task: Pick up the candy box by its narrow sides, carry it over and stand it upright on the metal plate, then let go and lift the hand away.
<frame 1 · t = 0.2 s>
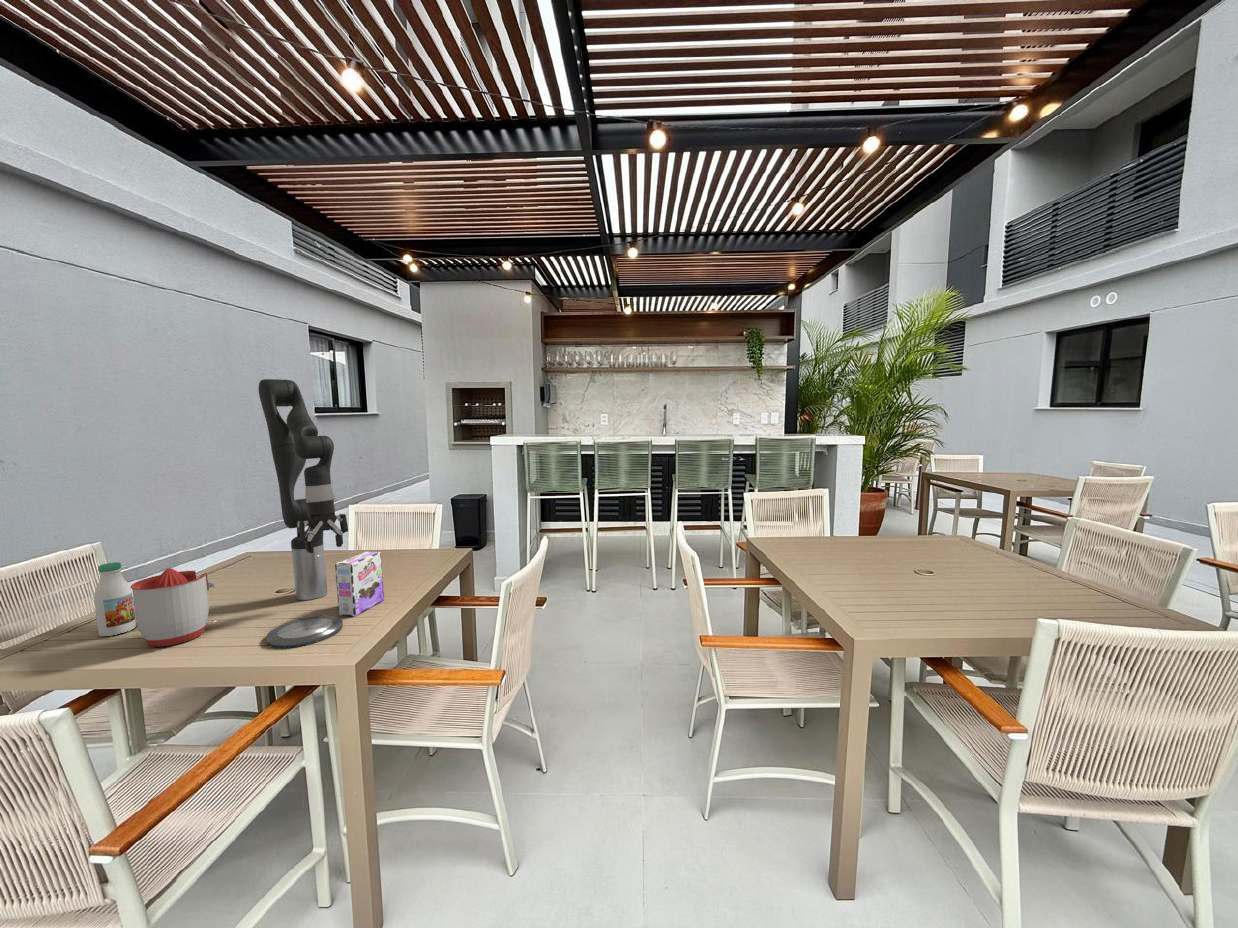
hand: (325, 549, 160), 18 cm above the table, tool pointing down, fingers open, 8 cm apart
candy box: (362, 608, 158), on the table
metal plate: (305, 633, 140), on the table
milk bottle: (118, 632, 144), on the table
citrus juicer: (180, 637, 140), on the table
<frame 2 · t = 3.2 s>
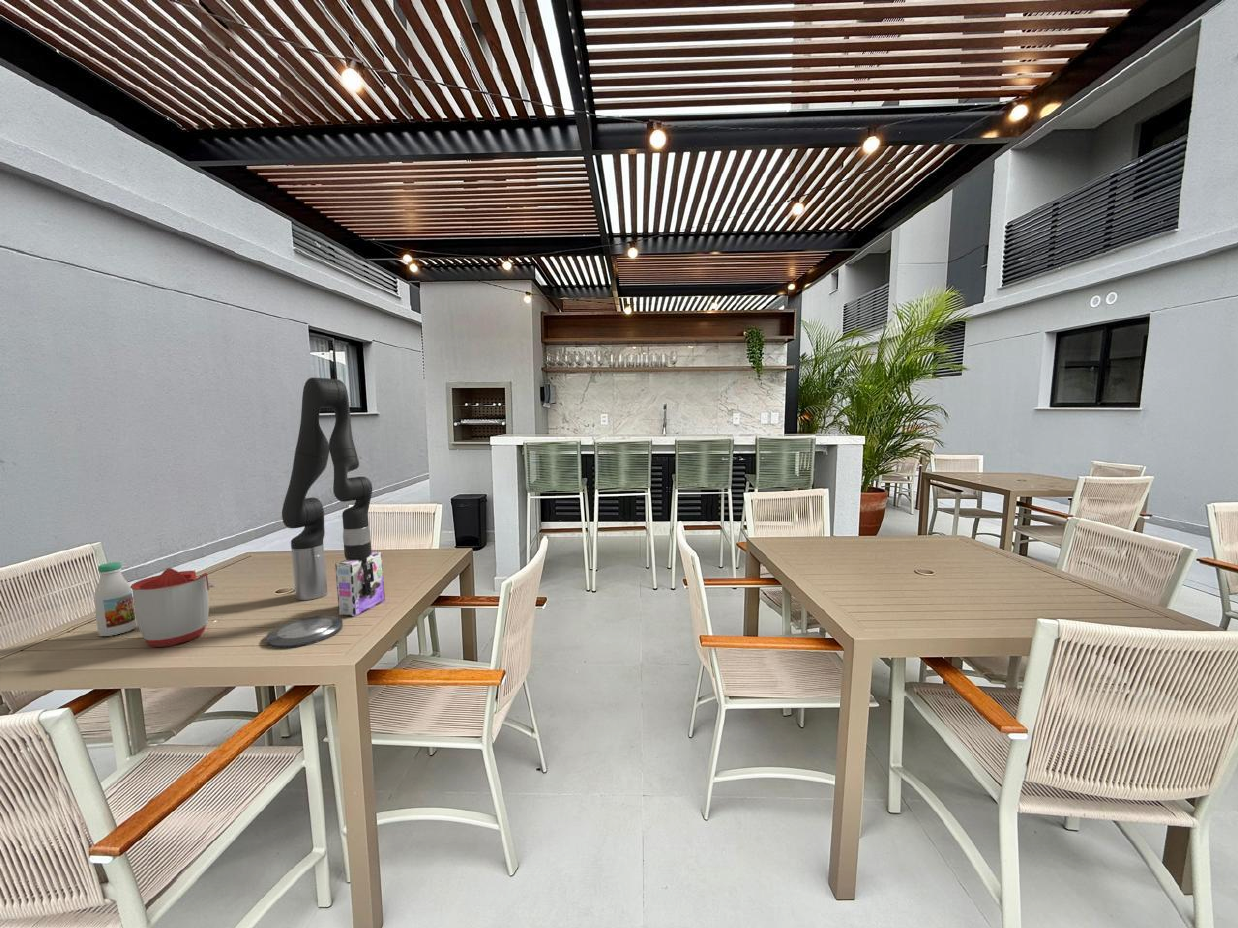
hand: (361, 591, 157), 5 cm above the table, tool pointing down, fingers open, 8 cm apart
nothing on the table moved.
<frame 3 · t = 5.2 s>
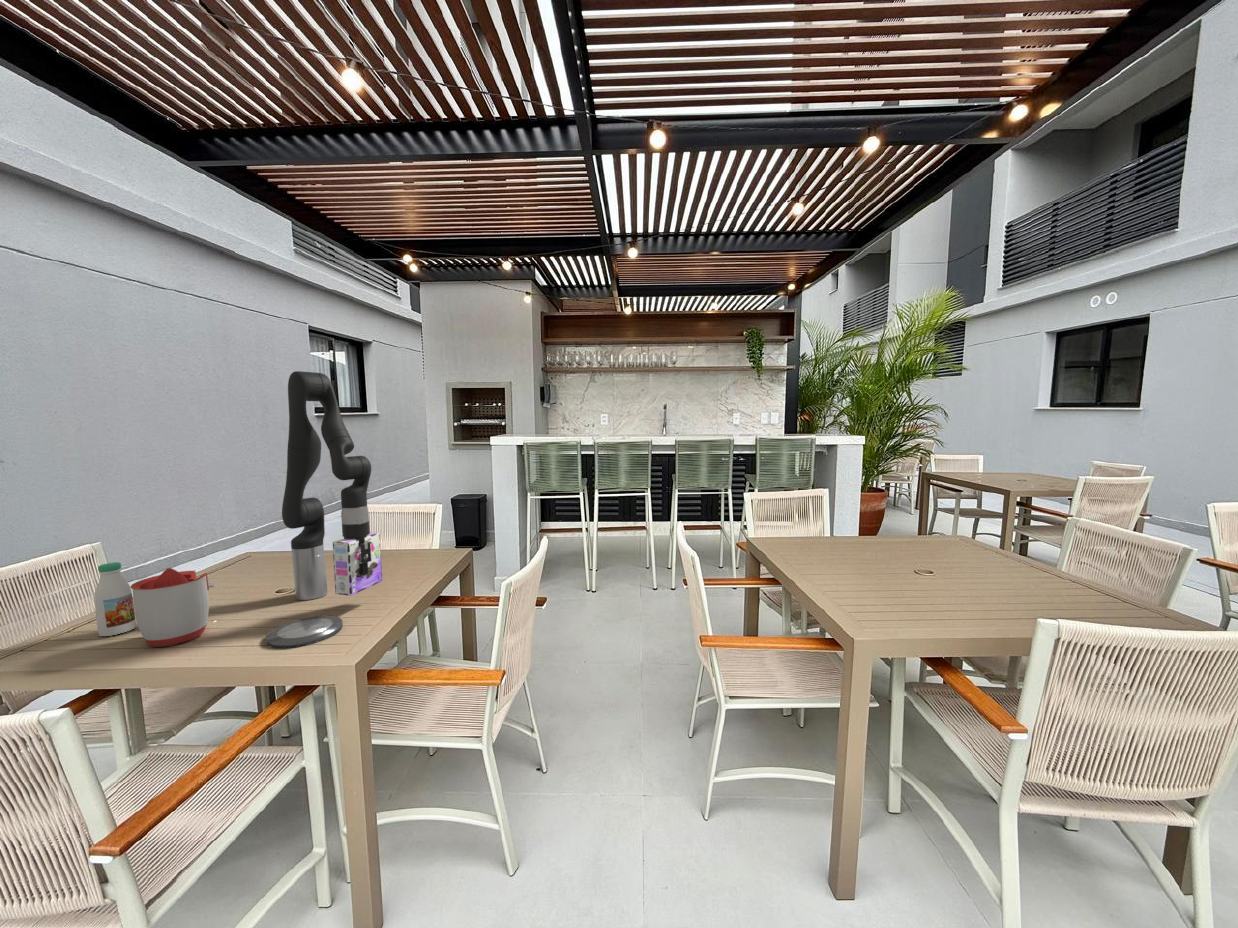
hand: (358, 572, 157), 12 cm above the table, tool pointing down, fingers closed on candy box, 7 cm apart
candy box: (359, 588, 157), point 6 cm above the table, touching gripper
everything else where it was.
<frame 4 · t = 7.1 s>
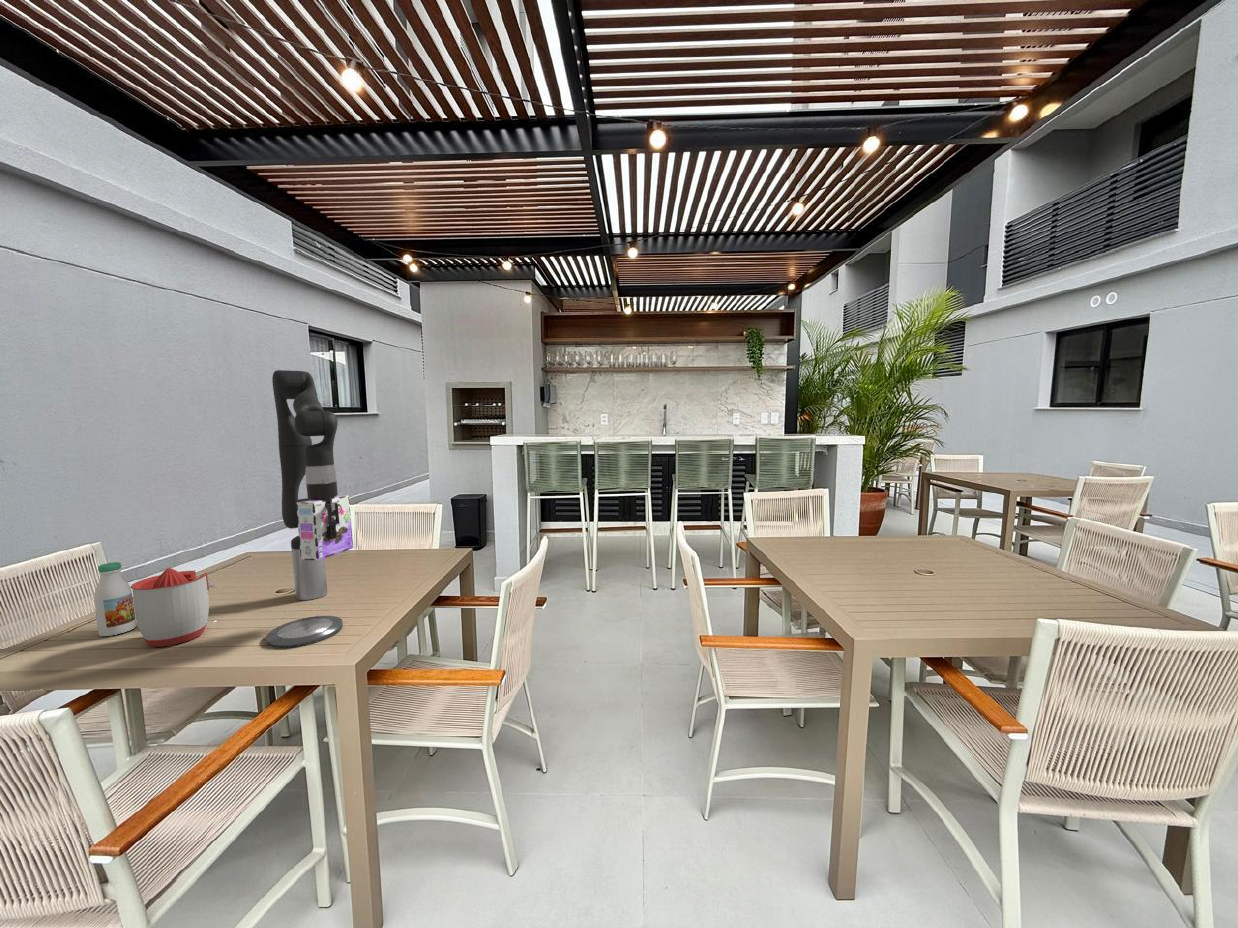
hand: (326, 537, 145), 25 cm above the table, tool pointing down, fingers closed on candy box, 7 cm apart
candy box: (328, 554, 146), point 20 cm above the table, touching gripper
everything else where it was.
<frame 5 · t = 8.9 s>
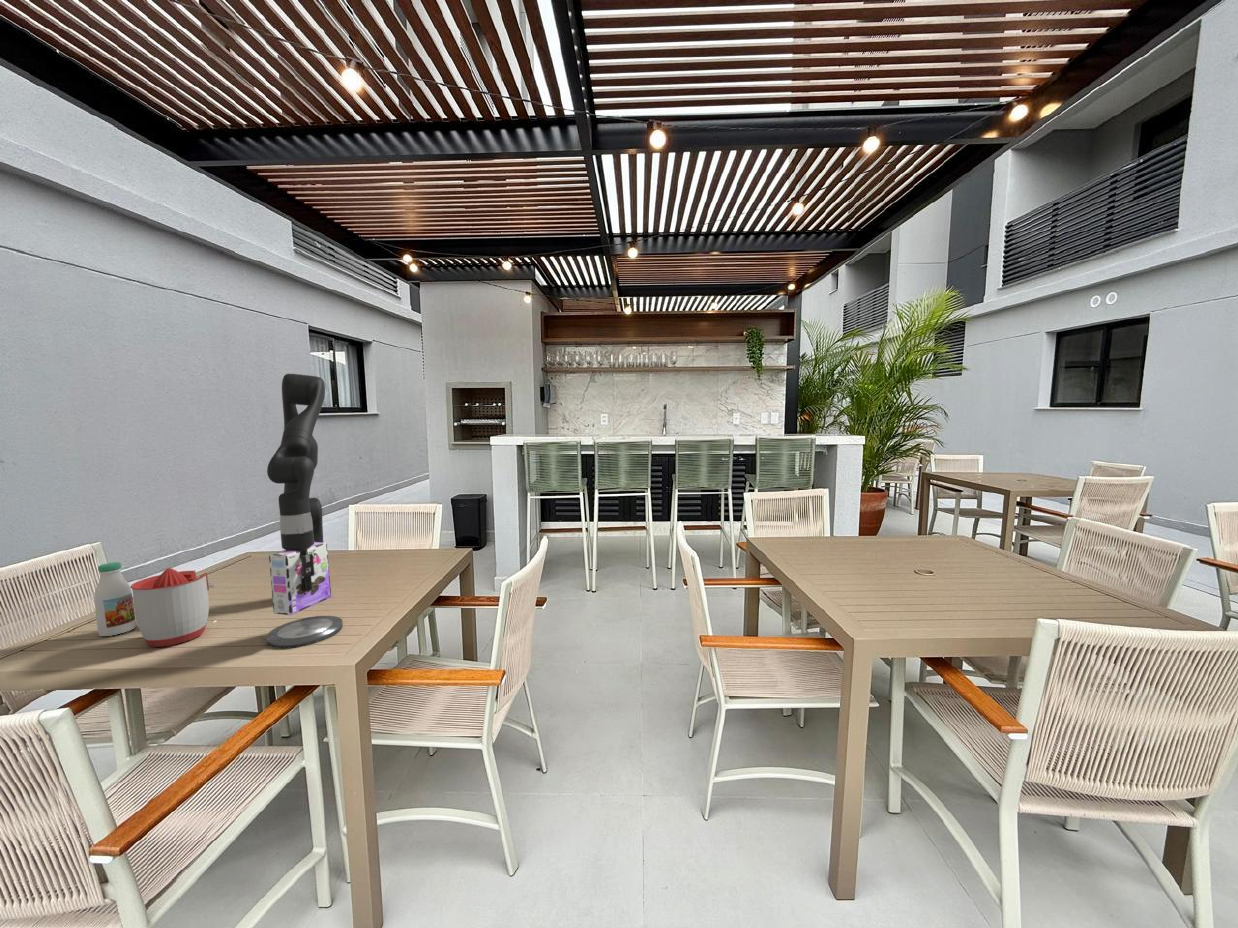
hand: (302, 587, 139), 13 cm above the table, tool pointing down, fingers closed on candy box, 7 cm apart
candy box: (304, 606, 139), point 8 cm above the table, touching gripper
everything else where it was.
when the fingers open (8 cm above the table, at t = 10.6 s): candy box drops 2 cm, resting on metal plate.
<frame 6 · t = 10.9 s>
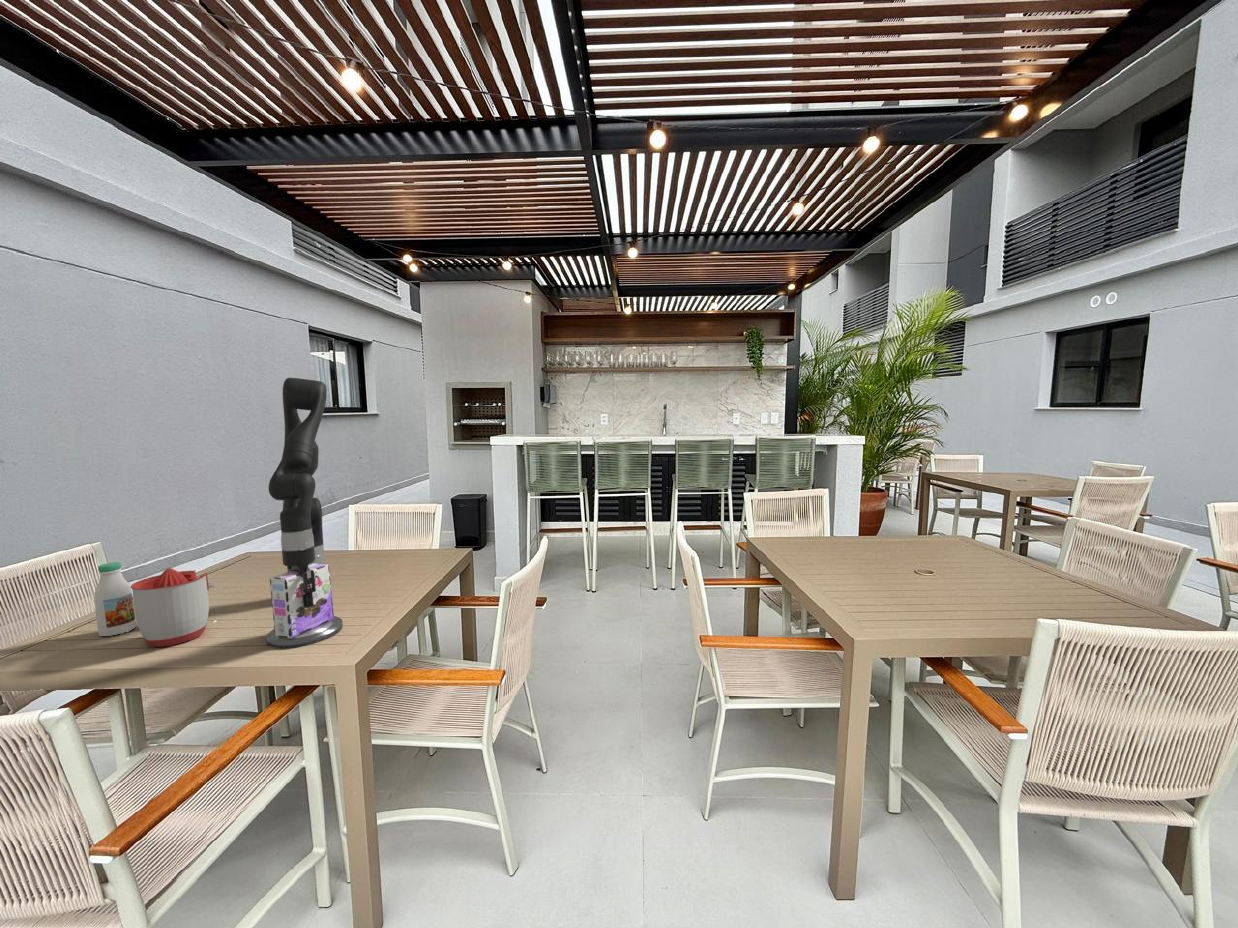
hand: (303, 603, 139), 9 cm above the table, tool pointing down, fingers open, 8 cm apart
candy box: (305, 628, 140), point 1 cm above the table, touching metal plate
everything else where it was.
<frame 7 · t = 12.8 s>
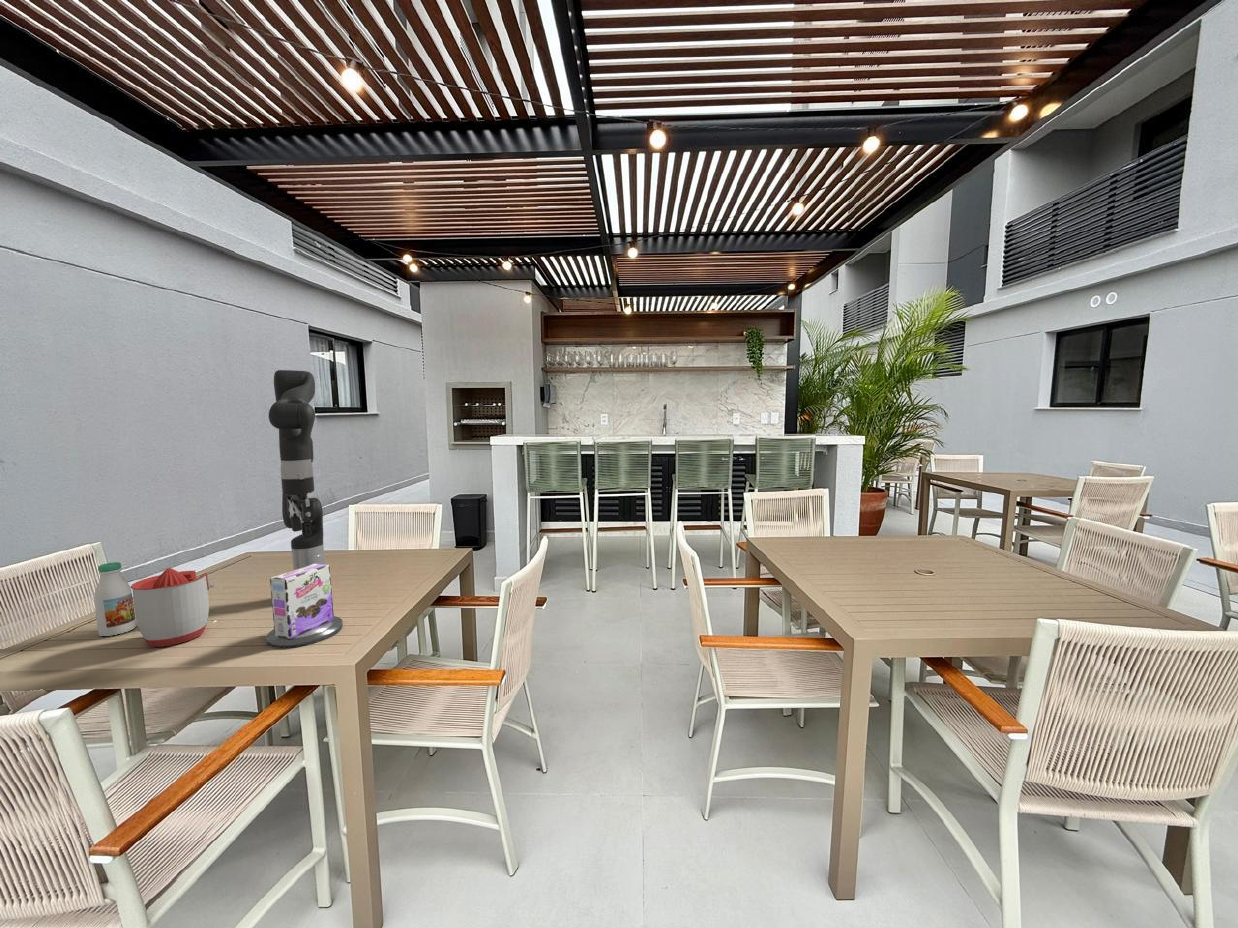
hand: (302, 533, 140), 28 cm above the table, tool pointing down, fingers open, 8 cm apart
nothing on the table moved.
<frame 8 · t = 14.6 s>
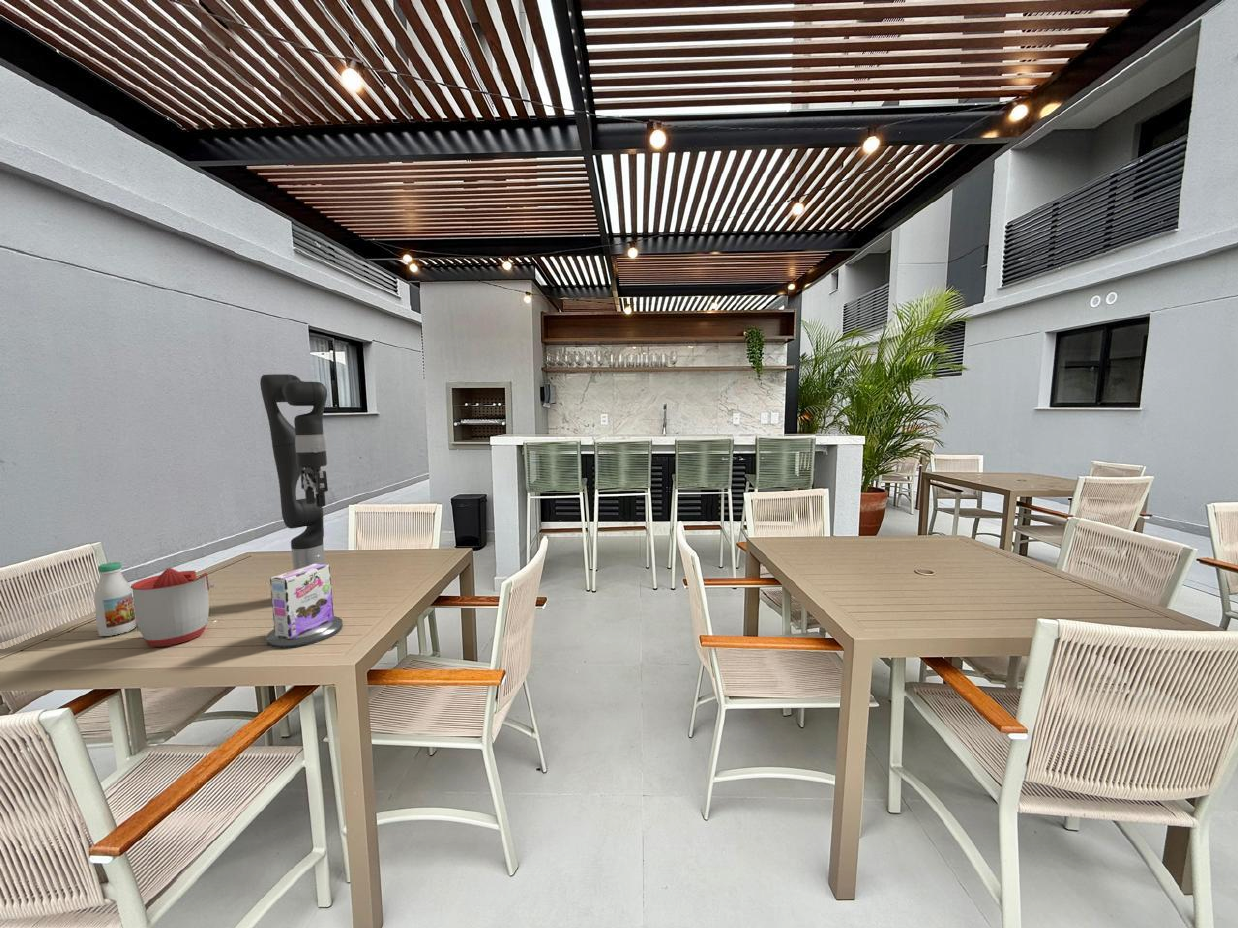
hand: (315, 505, 148), 34 cm above the table, tool pointing down, fingers open, 8 cm apart
nothing on the table moved.
at the end: candy box 0.2 cm off-centre on the metal plate, point 1.4 cm above the metal plate's base; candy box tilted 0°; the gripper is holding nothing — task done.
